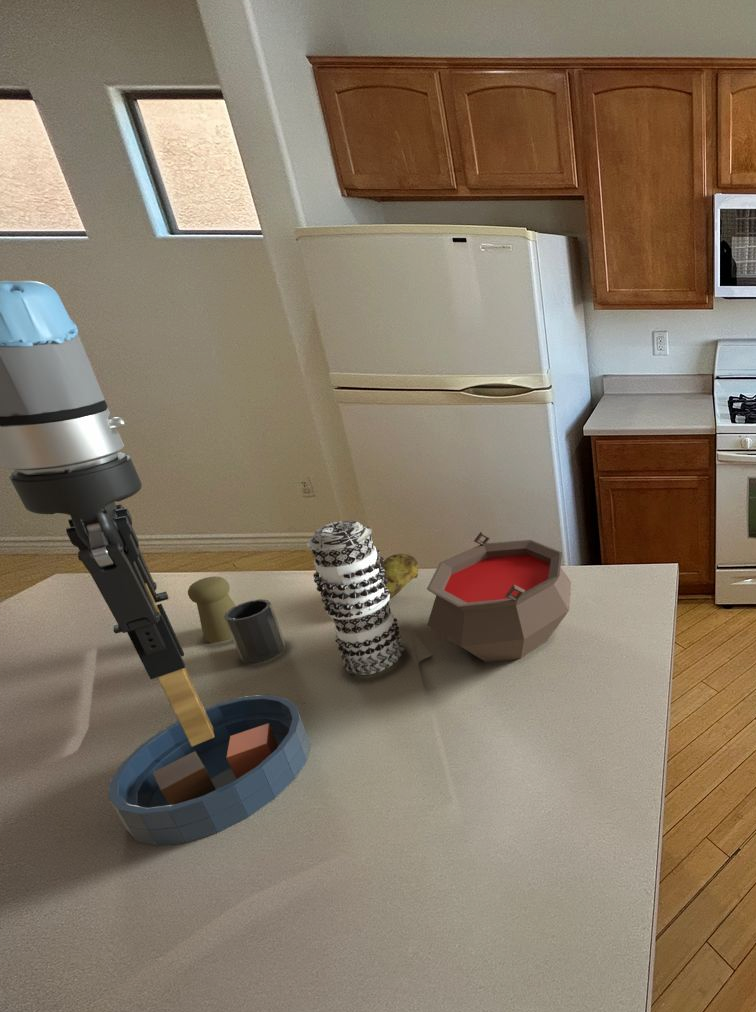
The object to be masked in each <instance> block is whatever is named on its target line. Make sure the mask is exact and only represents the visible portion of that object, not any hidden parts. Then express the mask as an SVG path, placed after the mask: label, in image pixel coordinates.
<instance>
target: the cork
mask: <svg viewBox="0 0 756 1012" xmlns="http://www.w3.org/2000/svg"><path fill="white" fill-rule="evenodd" d="M229 592H230V584H229V582H228V580H227V579H226V578H224V577H223V576H208V577H204V578H201V579H199V580H196V581H194V582H193V583H191V584H190V585H189V587H188V590H187V595H188V597H189V600H190V601H191V602H193V603H195V604H196V607H197V611H198V617H199V622H200V627H201V630H202V635H203V640H204V641H205V642H206V643H211V644H212V643H213V644H214V643H215V644H216V643H222V642H226V641H229V640H231V639H233V638H232V636H231V633H230V631H229V628H228V626H227V623H226V621H225V618H224V616H225V613H226V612H227V611H229V610H230V609H231V608H233V607H235V606H236V604H235V603H234V600H233V599H232V598H231V596H230V595H229Z"/></svg>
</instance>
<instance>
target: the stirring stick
mask: <svg viewBox="0 0 756 1012" xmlns="http://www.w3.org/2000/svg"><path fill="white" fill-rule="evenodd" d="M145 585H146V587H147V589H148V592H149V594H150V596H151V598H152V601H153V603H154V605H155V607H156V610H157V612H159V609H158V607H157V605H158V604H157V603H155V601H154V599H153V596H152V594H151V592H150V590H149V588H148V586H147V584H146V583H145ZM159 613H160V612H159ZM160 615H161V614H160ZM157 679H158V682H159V683H160V686H161V688H162V690H163V692H164V694H165V696H166V698H167V700H168V702H169V705H170V706H171V709H172V710H173V712H174V714H175V717H176V719H177V721H179V722H180V724H181V726H182V728H183V730H184V733H185V735H186V737H187V739H188V741H189V743H190V745H191V746H192V747H193V746H195V745H197V744H200V743H202V742H204V741H207V740H209V739H212V738H214V731H213V726H212V724H211V722H210V720H209V718H208V716H207V713H206V711H205V707H204V705H203V702H202V701H201V699H200V696H199V694H198V692H197V689H196V688H195V685H194V684H193V681H192V679H191V677H190V675H189V672H188V670H187V668H186V667H185V668H183V669H180V670H177V671H174V672H171V673H168V674H166V675H163V676H160V677H157Z"/></svg>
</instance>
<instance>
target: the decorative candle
mask: <svg viewBox="0 0 756 1012" xmlns="http://www.w3.org/2000/svg"><path fill="white" fill-rule="evenodd" d="M372 530H373V528H370V527H369V526H368V525H363V524H361V522H359V521H355V520H340V521H334V522H331V523H327V524H325V525H323V526H321V527H319V528H318V529H317V530H316V531H315V532H314V534H313V536H312V537H311V538H310V539H308V540H307V543H306V546H307V548H309V549H310V550H311V551H312V552H311V554H312V556H313V558H314V560H313V565H314V568H315V572H314V573H313V578H314V579H313V581H314V583H315V584H316V591H317V592H320V596H321V603H323V604H324V607H323V609H324V611H326V614H327V615H328V616H329V617H330V618H332V620H333V623H334V631H335V638H334V639H335V640H334V641H335V643H337V644H338V647H337V650H338V651H339V652H340V654H341V655H340V660H341V661H342V662H343V664H342V667H343V668H344V669H345V670H346V672H347V673H349V674H355V675H357V676H363V675H366V676H369V675H372V674H377V673H380V672H382V671H384V670H387V669H388V668H390V667H391V666H393V665H395V663H396V662H397V661H398V660H400V657H401V656H402V655H403V653H402V652H404V650H405V648H404V647H403V646H404V643H403V640H402V638H403V637H402V635H400V627H399V626H398V619H397V618H395V616H394V613H393V610H392V608H391V606H390V603H389V602H390V600H391V599H390V591H389V588H387V587H385V585H386V584H387V583H388V581H387V580H388V578H387V577H384V575H385V574H386V571H385V569H384V568H381V565H382V564H383V563H384V560H385V558H384V557H383V556H381V554H380V553H381V550H380V549H377V547H376V546H375V545H374V541H373V538H372ZM382 581H383V582H382Z"/></svg>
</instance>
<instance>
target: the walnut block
mask: <svg viewBox="0 0 756 1012" xmlns="http://www.w3.org/2000/svg"><path fill="white" fill-rule="evenodd" d="M152 774H153V776H154V779H155V781H156V783H157V785H158V787H159V789H160V791H161V793H162V794H163V796H164V798H165V800H166V802H167V804H168V806H170V805H175V804H178V803H181V802H185V801H188V800H191V799H195V798H198V797H201V796H204V795H206V794H208V793H210V792H212V791H215V790H216V789H215V787H214V785H213V782H212V780H211V778H210V776H209V774H208V772H207V770H206V768H205V766H204V764H203V763H202V761H201V759H200V758H199V756H198V754H197V753H196V751H194V752H192V753H190V754H188V755H186V756H184V757H182V758H180V759H178V760H176V761H174V762H172V763H171V764H169V765H167V766H165V767H163V768H161V769H159V770H157V771H155V772H153V773H152Z"/></svg>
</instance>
